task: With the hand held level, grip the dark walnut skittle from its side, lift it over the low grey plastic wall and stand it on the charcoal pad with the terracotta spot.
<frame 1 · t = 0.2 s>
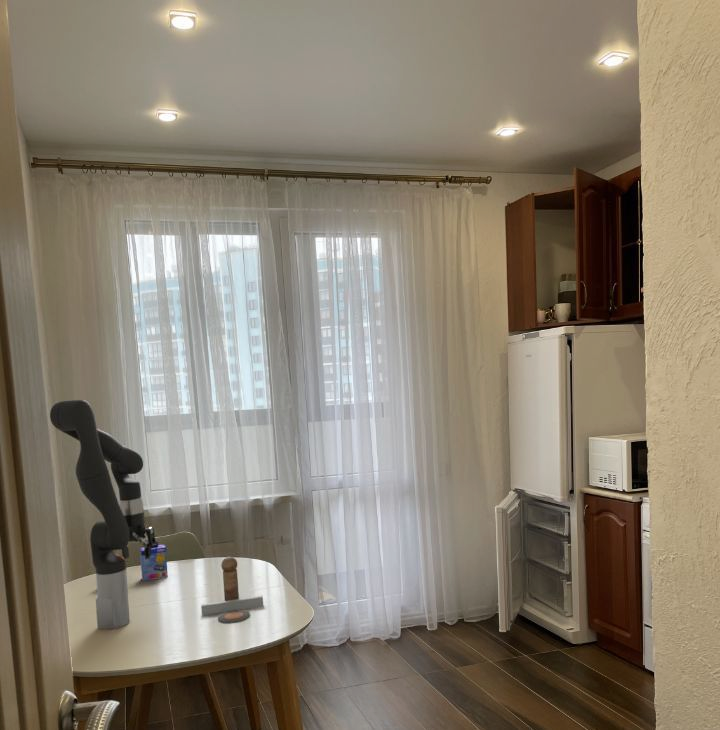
hand: (137, 558, 230), 18 cm above the table, fingers open, 8 cm apart
action figure: (115, 584, 264), on the table
skittle: (232, 603, 230), on the table
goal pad: (234, 617, 215), on the table
low wall: (232, 609, 222), on the table
ink cartridge box: (154, 578, 269), on the table
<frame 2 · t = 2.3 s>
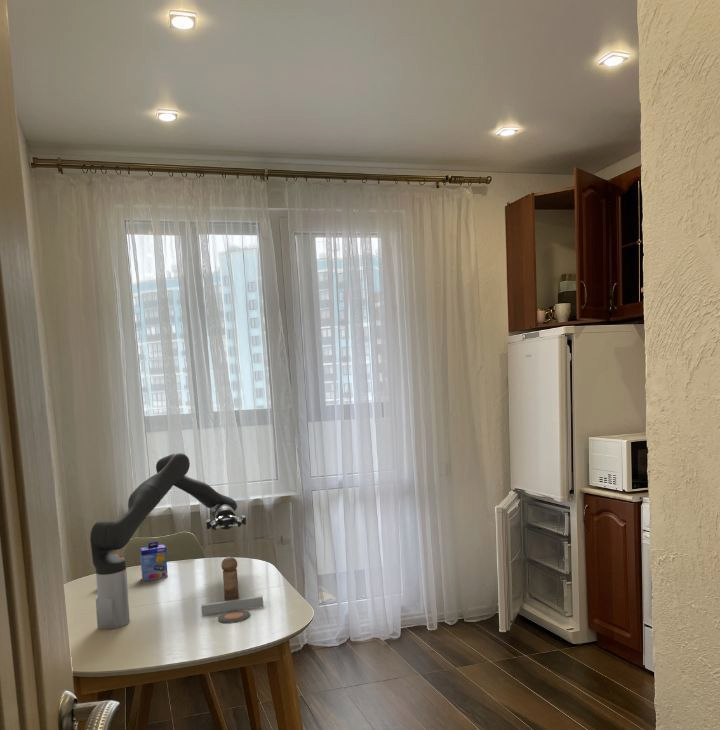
hand: (226, 525, 241), 24 cm above the table, fingers open, 8 cm apart
nothing on the table moved.
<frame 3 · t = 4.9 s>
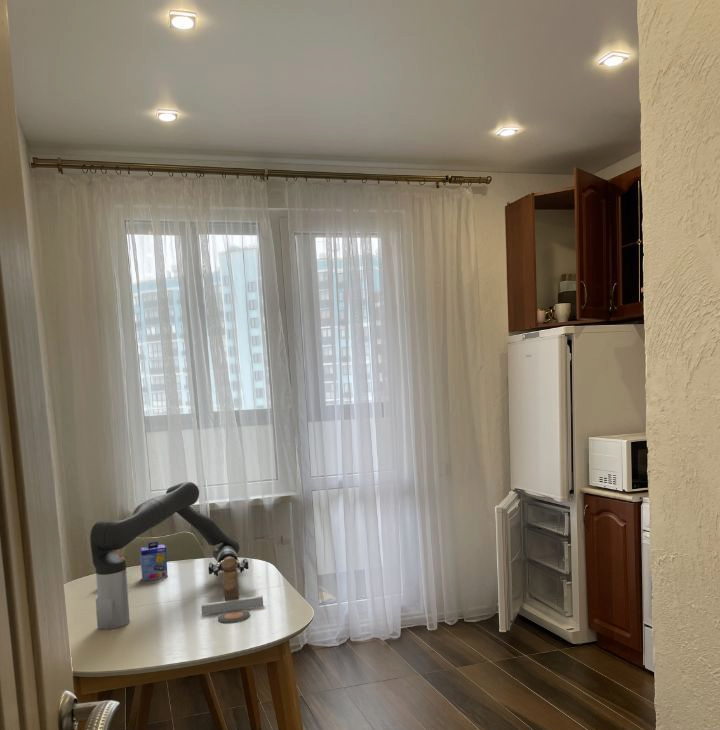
hand: (229, 571, 239), 8 cm above the table, fingers open, 8 cm apart
nothing on the table moved.
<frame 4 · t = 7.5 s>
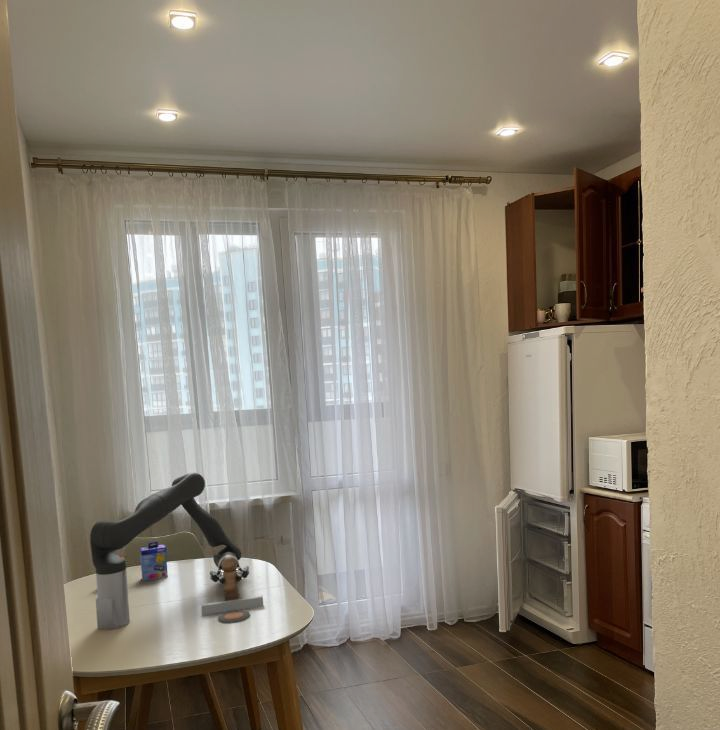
hand: (230, 580, 227), 9 cm above the table, fingers closed on skittle, 4 cm apart
skittle: (232, 602, 230), on the table, touching gripper
everything else where it was.
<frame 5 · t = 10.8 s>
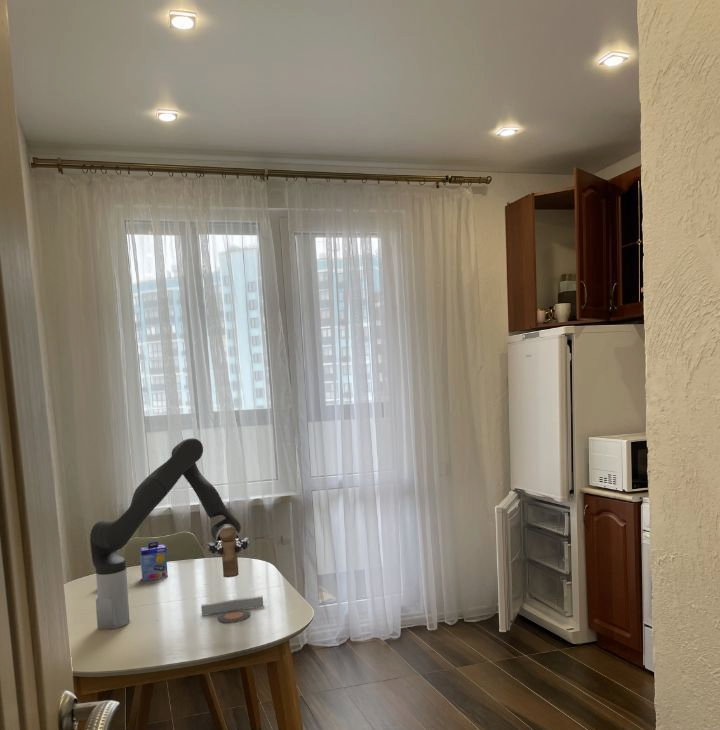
hand: (229, 550, 213), 22 cm above the table, fingers closed on skittle, 4 cm apart
skittle: (231, 575, 216), point 13 cm above the table, touching gripper
everything else where it was.
when the fingers open (10 cm above the table, at t = 14.0 s): skittle drops 1 cm, resting on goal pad.
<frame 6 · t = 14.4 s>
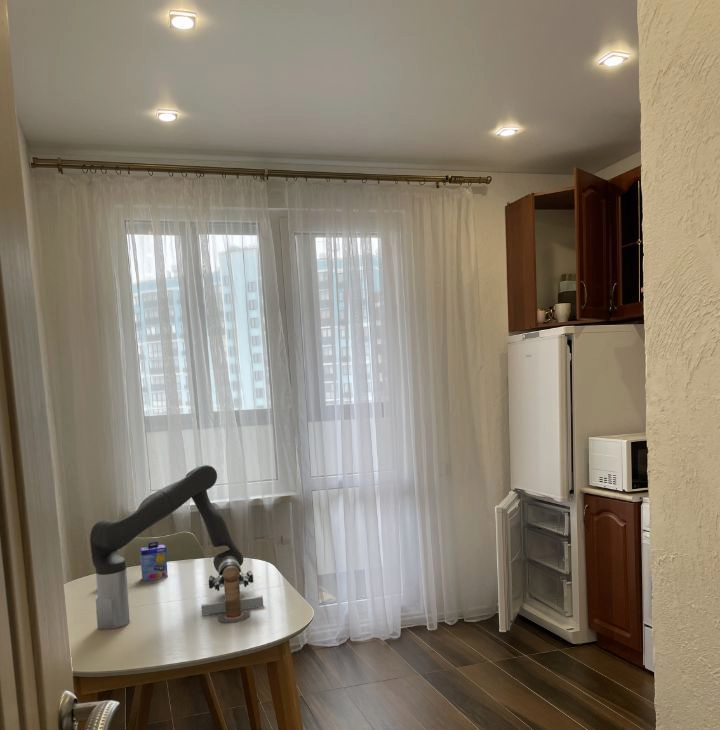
hand: (231, 585, 213), 11 cm above the table, fingers open, 8 cm apart
skittle: (233, 615, 215), point 1 cm above the table, touching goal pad
everything else where it was.
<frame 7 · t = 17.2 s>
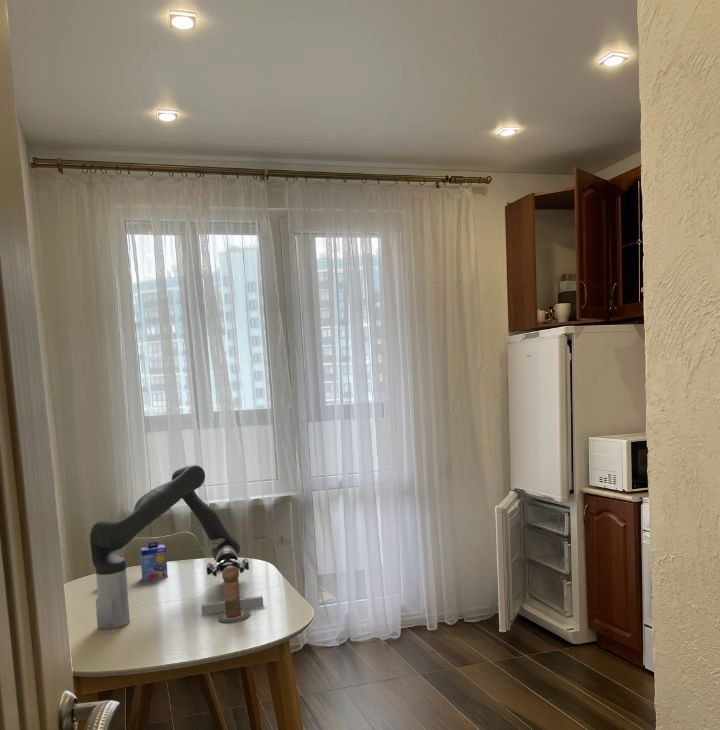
hand: (228, 571, 227), 12 cm above the table, fingers open, 8 cm apart
nothing on the table moved.
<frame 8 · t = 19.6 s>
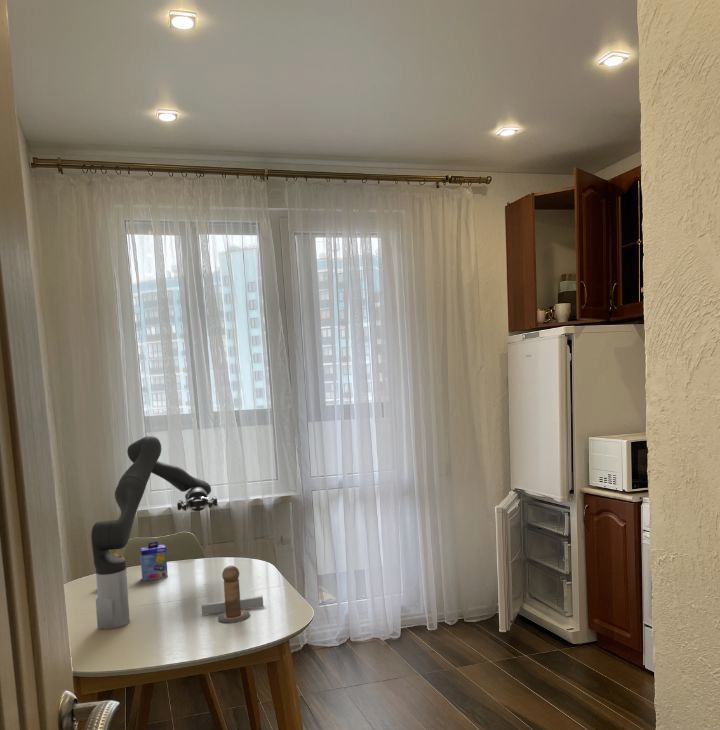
hand: (197, 506, 240), 32 cm above the table, fingers open, 8 cm apart
nothing on the table moved.
at the end: skittle 0.1 cm off-centre on the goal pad, point 0.6 cm above the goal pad's base; skittle tilted 0°; the gripper is holding nothing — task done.
